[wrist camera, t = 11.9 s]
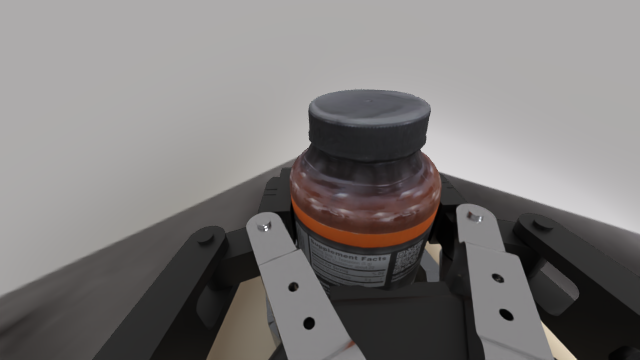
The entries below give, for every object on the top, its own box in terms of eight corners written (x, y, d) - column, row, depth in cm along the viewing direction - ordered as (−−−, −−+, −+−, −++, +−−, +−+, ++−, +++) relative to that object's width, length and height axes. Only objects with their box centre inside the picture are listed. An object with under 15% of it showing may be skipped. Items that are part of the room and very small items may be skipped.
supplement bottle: (333, 239, 17) (333, 79, 11) (414, 274, 15) (475, 89, 8) (283, 308, 13) (238, 111, 7) (384, 376, 10) (463, 153, 4)
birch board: (412, 202, 23) (414, 194, 23) (616, 411, 10) (632, 406, 10) (207, 247, 19) (203, 239, 19) (129, 680, 6) (109, 695, 6)
